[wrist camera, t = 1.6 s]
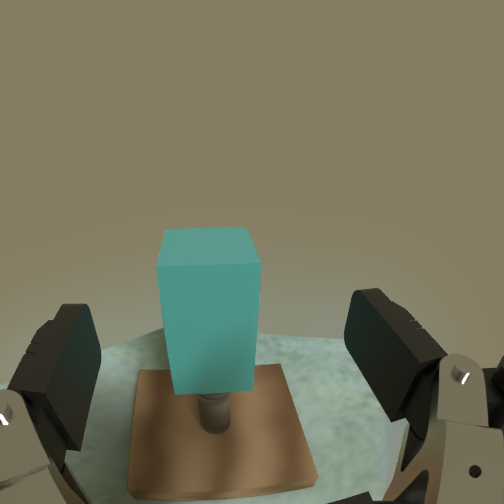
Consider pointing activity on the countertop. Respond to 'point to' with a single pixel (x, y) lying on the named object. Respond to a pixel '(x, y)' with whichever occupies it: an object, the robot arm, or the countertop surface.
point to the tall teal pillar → (209, 308)
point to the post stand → (216, 441)
